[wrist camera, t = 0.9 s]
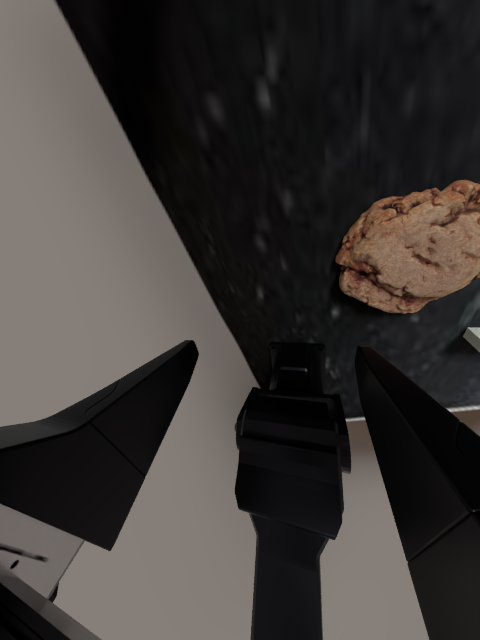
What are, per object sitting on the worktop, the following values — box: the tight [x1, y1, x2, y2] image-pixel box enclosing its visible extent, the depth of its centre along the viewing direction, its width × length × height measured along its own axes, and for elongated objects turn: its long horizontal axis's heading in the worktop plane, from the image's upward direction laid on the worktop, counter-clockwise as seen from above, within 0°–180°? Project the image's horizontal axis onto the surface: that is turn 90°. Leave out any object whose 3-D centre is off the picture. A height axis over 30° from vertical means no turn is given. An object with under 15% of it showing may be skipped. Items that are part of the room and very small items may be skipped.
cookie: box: [335, 180, 480, 313], centre depth 15 cm, size 10×11×3 cm
